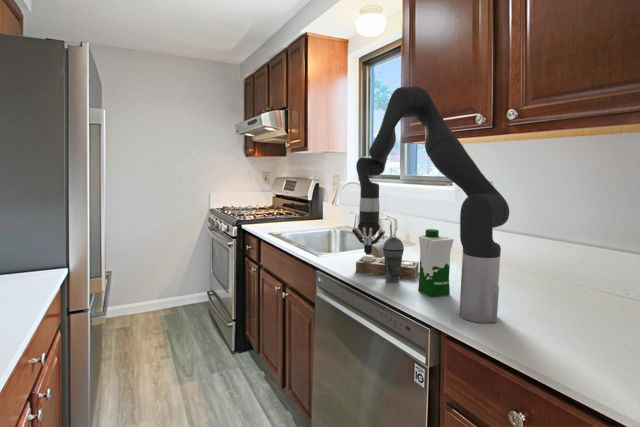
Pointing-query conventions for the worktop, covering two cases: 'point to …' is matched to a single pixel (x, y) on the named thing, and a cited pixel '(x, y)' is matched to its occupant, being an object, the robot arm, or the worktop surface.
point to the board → (379, 268)
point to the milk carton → (434, 263)
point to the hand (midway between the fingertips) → (368, 253)
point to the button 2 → (407, 263)
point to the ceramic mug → (377, 250)
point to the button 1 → (368, 258)
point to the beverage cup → (393, 258)
